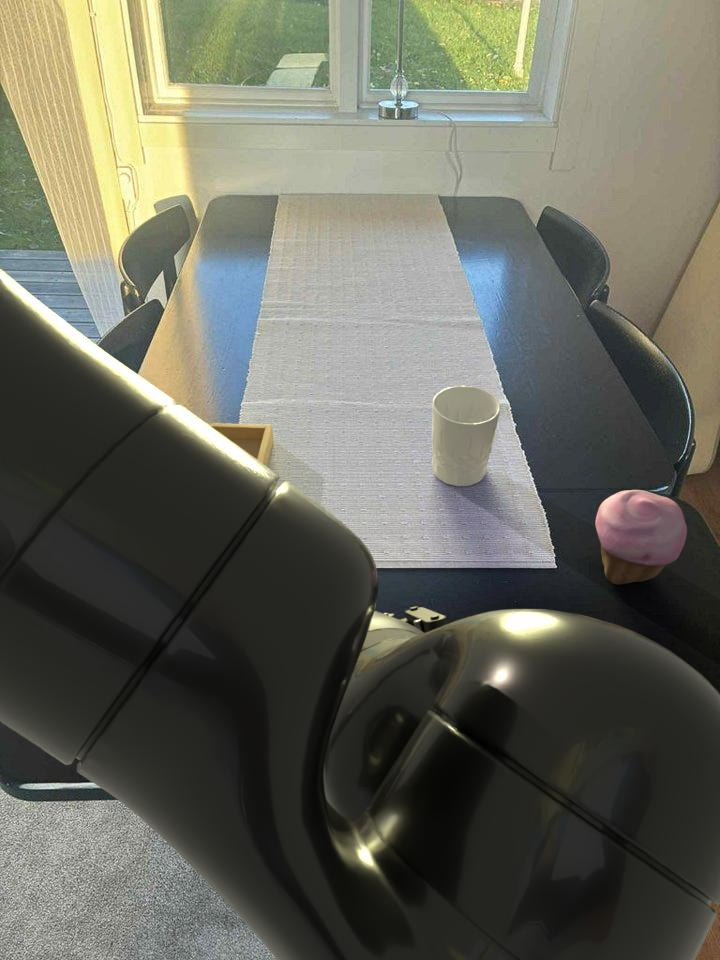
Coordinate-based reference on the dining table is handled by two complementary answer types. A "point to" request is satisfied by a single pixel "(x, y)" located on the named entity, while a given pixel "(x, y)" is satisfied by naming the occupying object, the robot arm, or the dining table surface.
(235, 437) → the serving tray
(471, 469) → the white cup
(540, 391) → the dining table surface
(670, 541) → the cupcake
